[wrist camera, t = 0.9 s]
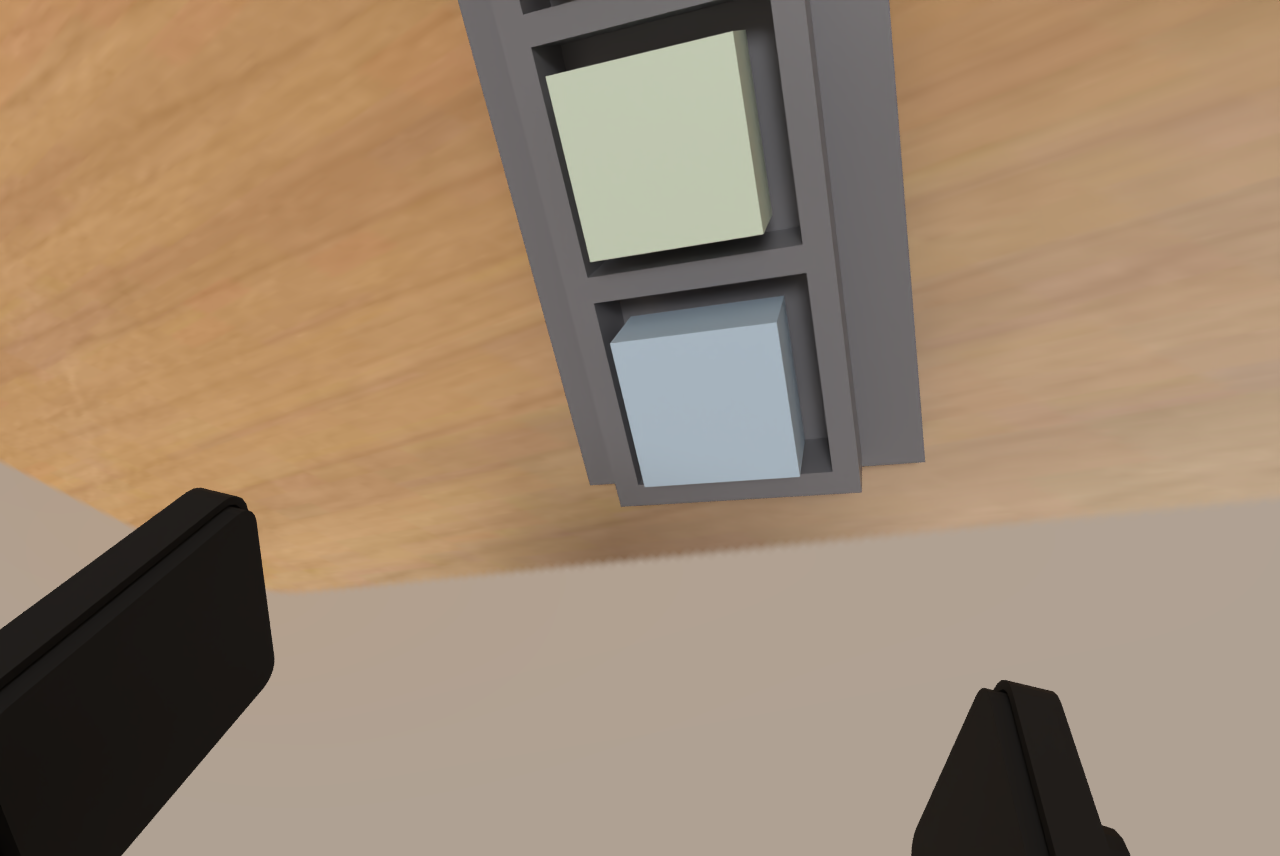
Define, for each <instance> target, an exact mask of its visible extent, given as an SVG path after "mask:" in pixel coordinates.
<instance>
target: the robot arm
mask: <svg viewBox="0 0 1280 856" xmlns="http://www.w3.org/2000/svg"><path fill="white" fill-rule="evenodd" d="M273 666H274V651H273V644H272V636H271V629H270V621H269V614H268V606H267V599H266V590H265V583H264V575H263V568H262V560H261V552H260V545H259V537H258V529H257V522H256V518H255V515H254V514H253V513H252V512H251V511H248V509H247V505H246V503H245V502H244V500H243V499H242V498H240V497H237V496H233V495H229V494H225V493H221V492H216V491H212V490H208V489H204V488H194V489H192V490H190V491H188V492H186V493H185V494H184V495H182V496H181V497H180V498H178V499H177V500H175V501H174V502H173V503H171V504H170V505H169V506H167V507H166V508H165V509H163V510H162V511H160V512H159V513H158V514H156V515H155V516H154V517H152V518H151V519H150V520H148V521H147V522H146V523H144V524H143V525H141V526H140V527H139V528H137V529H136V530H135V531H133V532H132V533H131V534H129V535H128V536H127V537H125V538H124V539H122V540H121V541H120V542H118V543H117V544H116V545H114V546H113V547H112V548H110V549H109V550H108V551H106V552H105V553H103V554H102V555H101V556H99V557H98V558H97V559H95V560H94V561H93V562H91V563H90V564H89V565H87V566H86V567H84V568H83V569H82V570H80V571H79V572H78V573H76V574H75V575H74V576H72V577H71V578H69V579H68V580H67V581H65V582H64V583H63V584H61V585H60V586H59V587H57V588H56V589H55V590H53V591H52V592H50V593H49V594H48V595H46V596H45V597H44V598H42V599H41V600H40V601H38V602H37V603H36V604H34V605H33V606H31V607H30V608H29V609H27V610H26V611H25V612H23V613H22V614H21V615H19V616H18V617H17V618H15V619H14V620H12V621H11V622H10V623H8V624H7V625H6V626H4V627H3V628H2V629H0V856H121V855H122V854H123V853H124V852H125V851H126V849H127V848H128V847H129V846H130V845H131V844H132V842H133V841H134V840H135V839H136V837H137V836H138V835H139V834H140V833H141V832H142V831H143V829H144V828H145V827H146V826H147V825H148V823H149V822H150V821H151V820H152V819H153V817H154V816H155V815H156V814H157V813H158V812H159V811H160V809H161V808H162V807H163V806H164V805H165V804H166V802H167V801H168V800H169V799H170V798H171V796H172V795H173V794H174V793H175V792H176V791H177V789H178V788H179V787H180V786H181V785H182V783H183V782H184V781H185V780H186V779H187V778H188V776H189V775H190V774H191V773H192V772H193V770H194V769H195V768H196V767H197V766H198V764H199V763H200V762H201V761H202V760H203V759H204V758H205V756H206V755H207V754H208V753H209V752H210V750H211V749H212V748H213V747H214V746H215V745H216V743H217V742H218V741H219V740H220V739H221V737H222V736H223V735H224V734H225V733H226V731H227V730H228V729H229V728H230V727H231V726H232V724H233V723H234V722H235V721H236V720H237V719H238V717H239V716H240V715H241V714H242V713H243V712H244V710H245V709H246V708H247V707H248V706H249V704H250V703H251V702H252V701H253V700H254V699H255V697H256V696H257V695H258V694H259V693H260V692H261V690H262V689H263V688H264V686H265V685H266V683H267V682H268V680H269V678H270V676H271V674H272V671H273ZM911 856H1130V853H1129V851H1128V849H1127V847H1126V845H1125V843H1124V841H1123V839H1122V837H1121V836H1120V835H1119V834H1118V833H1117V832H1116V831H1115V830H1114V829H1111V828H1109V827H1106V826H1103V825H1101V822H1100V819H1099V816H1098V813H1097V810H1096V807H1095V804H1094V801H1093V797H1092V795H1091V792H1090V788H1089V785H1088V783H1087V779H1086V776H1085V773H1084V770H1083V767H1082V765H1081V762H1080V758H1079V756H1078V752H1077V749H1076V746H1075V743H1074V740H1073V737H1072V734H1071V731H1070V728H1069V725H1068V722H1067V719H1066V716H1065V713H1064V710H1063V707H1062V704H1061V702H1060V700H1059V698H1058V696H1057V695H1056V694H1055V693H1054V692H1053V691H1049V690H1044V689H1040V688H1036V687H1032V686H1028V685H1023V684H1019V683H1015V682H1011V681H1007V680H1001V681H1000V682H999V683H997V685H996V687H995V688H994V690H990V689H986V688H982V689H981V690H979V692H978V693H977V695H976V697H975V699H974V702H973V704H972V706H971V708H970V710H969V713H968V715H967V717H966V719H965V722H964V724H963V726H962V728H961V730H960V733H959V735H958V737H957V739H956V741H955V744H954V746H953V748H952V750H951V752H950V755H949V757H948V759H947V762H946V764H945V766H944V768H943V770H942V773H941V775H940V777H939V779H938V781H937V783H936V786H935V788H934V790H933V792H932V795H931V797H930V799H929V801H928V804H927V806H926V808H925V810H924V812H923V814H922V817H921V819H920V821H919V824H918V826H917V828H916V830H915V833H914V838H913V843H912V854H911Z"/></svg>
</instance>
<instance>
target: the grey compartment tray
mask: <svg viewBox="0 0 1280 856" xmlns="http://www.w3.org/2000/svg"><path fill="white" fill-rule="evenodd" d="M458 2H459V6H460V10H461V13H462V17H463V21H464V24H465V28H466V32H467V35H468V39H469V43H470V46H471V50H472V54H473V57H474V61H475V65H476V68H477V72H478V76H479V79H480V83H481V87H482V90H483V94H484V98H485V101H486V105H487V109H488V112H489V116H490V120H491V123H492V127H493V131H494V134H495V138H496V142H497V145H498V149H499V153H500V156H501V160H502V164H503V167H504V171H505V175H506V178H507V182H508V186H509V189H510V193H511V197H512V200H513V204H514V208H515V211H516V215H517V219H518V222H519V226H520V230H521V233H522V237H523V241H524V244H525V248H526V252H527V255H528V259H529V263H530V266H531V270H532V274H533V277H534V281H535V285H536V288H537V292H538V296H539V299H540V303H541V307H542V310H543V314H544V318H545V321H546V325H547V329H548V332H549V336H550V340H551V343H552V347H553V351H554V354H555V358H556V361H557V365H558V369H559V372H560V376H561V380H562V383H563V387H564V391H565V394H566V398H567V402H568V405H569V409H570V413H571V416H572V420H573V424H574V427H575V431H576V435H577V438H578V442H579V446H580V449H581V453H582V457H583V460H584V464H585V468H586V471H587V475H588V479H589V482H590V485H600V484H615V485H616V489H617V493H618V497H619V501H620V504H621V507H625V506H642V505H658V504H675V503H692V502H709V501H726V500H742V499H759V498H776V497H793V496H810V495H827V494H843V493H860V492H862V466H875V465H889V464H904V463H918V462H925V454H924V442H923V429H922V416H921V403H920V390H919V378H918V365H917V352H916V339H915V326H914V314H913V301H912V288H911V275H910V263H909V250H908V237H907V224H906V211H905V199H904V186H903V173H902V160H901V147H900V135H899V122H898V109H897V96H896V83H895V71H894V58H893V45H892V32H891V20H890V7H889V0H458ZM738 30H746V35H747V42H748V49H749V56H750V63H751V70H752V77H753V84H754V91H755V97H756V104H757V111H758V118H759V125H760V132H761V139H762V146H763V153H764V160H765V167H766V173H767V180H768V187H769V194H770V201H771V208H772V216H771V219H770V221H769V223H768V225H767V227H766V230H765V232H764V234H762V235H756V236H750V237H744V238H737V239H731V240H725V241H719V242H713V243H706V244H700V245H694V246H688V247H682V248H675V249H669V250H663V251H657V252H651V253H644V254H638V255H632V256H626V257H620V258H613V259H607V260H601V261H595V262H590V259H589V255H588V250H587V246H586V242H585V238H584V234H583V230H582V226H581V222H580V217H579V213H578V209H577V205H576V201H575V197H574V193H573V188H572V184H571V180H570V176H569V172H568V168H567V164H566V159H565V155H564V151H563V147H562V143H561V139H560V135H559V130H558V126H557V122H556V118H555V114H554V110H553V106H552V102H551V97H550V93H549V89H548V85H547V81H546V76H550V75H554V74H558V73H562V72H566V71H570V70H574V69H579V68H583V67H587V66H591V65H595V64H599V63H603V62H607V61H612V60H616V59H620V58H624V57H628V56H632V55H636V54H640V53H645V52H649V51H653V50H657V49H661V48H665V47H669V46H673V45H678V44H682V43H686V42H690V41H694V40H698V39H702V38H706V37H711V36H715V35H719V34H723V33H727V32H731V31H738ZM777 296H784V298H785V305H786V311H787V318H788V325H789V332H790V339H791V346H792V353H793V360H794V367H795V374H796V381H797V387H798V394H799V401H800V408H801V415H802V422H803V429H804V436H805V444H804V451H803V458H802V466H801V473H800V477H790V478H775V479H760V480H745V481H730V482H715V483H700V484H686V485H671V486H656V487H645V486H644V482H643V478H642V474H641V470H640V466H639V462H638V457H637V453H636V449H635V445H634V441H633V437H632V433H631V428H630V424H629V420H628V416H627V412H626V408H625V404H624V399H623V395H622V391H621V387H620V383H619V379H618V375H617V371H616V366H615V362H614V358H613V354H612V350H611V346H610V343H611V341H612V340H613V339H614V338H615V336H616V335H617V334H618V332H619V331H620V330H621V329H622V327H623V326H624V325H625V323H626V322H627V321H628V319H629V318H630V317H631V316H638V315H645V314H653V313H660V312H667V311H675V310H682V309H689V308H697V307H704V306H711V305H719V304H726V303H733V302H741V301H748V300H755V299H763V298H770V297H777Z"/></svg>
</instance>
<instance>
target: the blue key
mask: <svg viewBox="0 0 1280 856" xmlns="http://www.w3.org/2000/svg"><path fill="white" fill-rule="evenodd" d="M610 346H611V350H612V354H613V358H614V362H615V366H616V371H617V375H618V379H619V383H620V387H621V391H622V395H623V399H624V404H625V408H626V412H627V416H628V420H629V424H630V428H631V433H632V437H633V441H634V445H635V449H636V453H637V457H638V462H639V466H640V470H641V474H642V478H643V482H644V486H645V487H656V486H671V485H686V484H700V483H715V482H730V481H745V480H760V479H775V478H790V477H800V473H801V466H802V458H803V451H804V444H805V436H804V429H803V422H802V415H801V408H800V401H799V394H798V387H797V381H796V374H795V367H794V360H793V353H792V346H791V339H790V332H789V325H788V318H787V311H786V305H785V298H784V296H777V297H770V298H763V299H755V300H748V301H741V302H733V303H726V304H719V305H711V306H704V307H697V308H689V309H682V310H675V311H667V312H660V313H653V314H645V315H638V316H631V317H630V318H629V319H628V321H627V322H626V323H625V325H624V326H623V327H622V329H621V330H620V331H619V332H618V334H617V335H616V336H615V338H614V339H613V340H612V341H611V343H610Z"/></svg>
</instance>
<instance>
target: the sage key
mask: <svg viewBox="0 0 1280 856" xmlns="http://www.w3.org/2000/svg"><path fill="white" fill-rule="evenodd" d="M546 81H547V85H548V89H549V93H550V97H551V102H552V106H553V110H554V114H555V118H556V122H557V126H558V130H559V135H560V139H561V143H562V147H563V151H564V155H565V159H566V164H567V168H568V172H569V176H570V180H571V184H572V188H573V193H574V197H575V201H576V205H577V209H578V213H579V217H580V222H581V226H582V230H583V234H584V238H585V242H586V246H587V250H588V255H589V259H590V262H595V261H601V260H607V259H613V258H620V257H626V256H632V255H638V254H644V253H651V252H657V251H663V250H669V249H675V248H682V247H688V246H694V245H700V244H706V243H713V242H719V241H725V240H731V239H737V238H744V237H750V236H756V235H762V234H764V232H765V230H766V227H767V225H768V223H769V221H770V219H771V216H772V208H771V201H770V194H769V187H768V180H767V173H766V167H765V160H764V153H763V146H762V139H761V132H760V125H759V118H758V111H757V104H756V97H755V91H754V84H753V77H752V70H751V63H750V56H749V49H748V42H747V35H746V30H738V31H731V32H727V33H723V34H719V35H715V36H711V37H706V38H702V39H698V40H694V41H690V42H686V43H682V44H678V45H673V46H669V47H665V48H661V49H657V50H653V51H649V52H645V53H640V54H636V55H632V56H628V57H624V58H620V59H616V60H612V61H607V62H603V63H599V64H595V65H591V66H587V67H583V68H579V69H574V70H570V71H566V72H562V73H558V74H554V75H550V76H546Z"/></svg>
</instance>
